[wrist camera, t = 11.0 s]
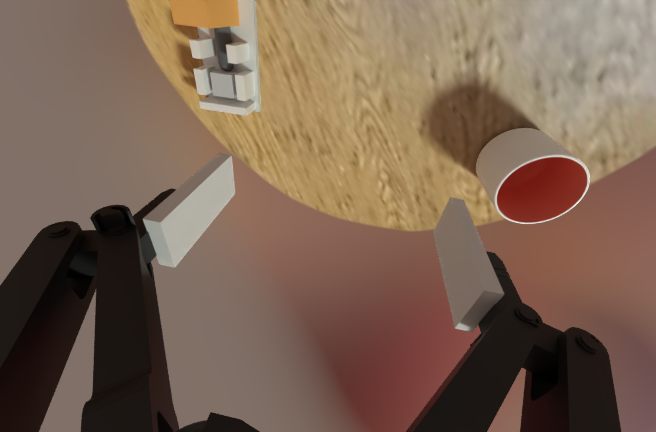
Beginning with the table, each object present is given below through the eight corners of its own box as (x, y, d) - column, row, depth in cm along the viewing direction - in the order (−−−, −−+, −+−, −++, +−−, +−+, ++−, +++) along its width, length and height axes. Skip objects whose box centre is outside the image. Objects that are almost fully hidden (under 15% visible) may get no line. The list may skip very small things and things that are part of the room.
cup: (459, 160, 43) (476, 194, 35) (522, 109, 37) (560, 136, 29) (499, 197, 45) (524, 236, 38) (563, 154, 40) (608, 190, 32)
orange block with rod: (194, -97, 30) (143, -126, 23) (229, -93, 29) (188, -122, 23) (220, 90, 41) (190, 104, 35) (245, 94, 41) (220, 109, 35)
